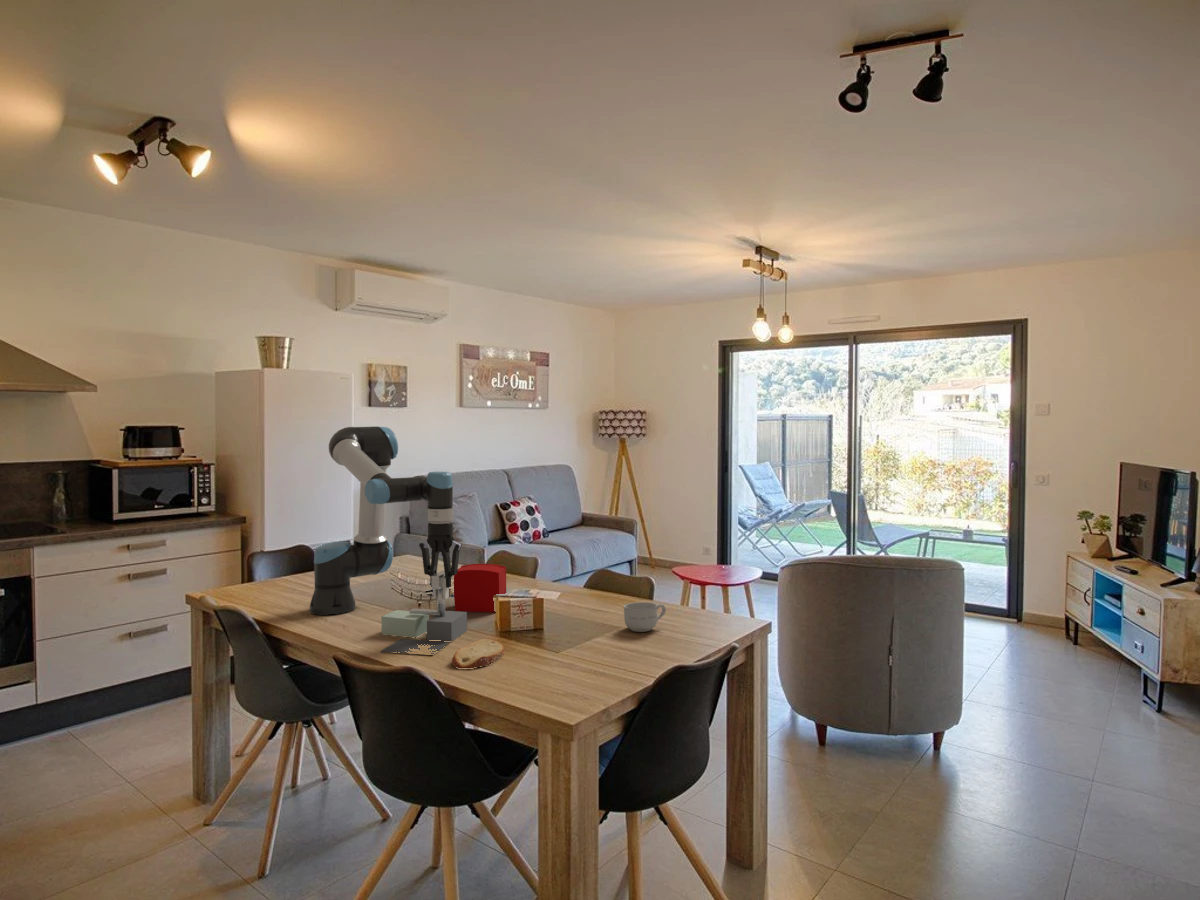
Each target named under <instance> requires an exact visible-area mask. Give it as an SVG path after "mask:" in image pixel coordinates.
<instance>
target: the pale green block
mask: <svg viewBox="0 0 1200 900" xmlns="http://www.w3.org/2000/svg"><path fill="white" fill-rule="evenodd" d="M409 611H410V610H401V609H395V610H393V611H391V612H389V613H386V614H383V615H382V616H381V635H382V634H385V635H384V636H388V635H395V636H394V637H397V636H405V637H404V638H406V636H407V637H417V636H419V635H421V634H423V633H425V632H427V620H429V619H430V615H423V614H409ZM425 634H426V633H425ZM423 635H424V634H423ZM421 636H422V635H421ZM419 637H420V636H419ZM417 638H418V637H417Z"/></svg>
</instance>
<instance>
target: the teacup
mask: <svg viewBox="0 0 1200 900" xmlns="http://www.w3.org/2000/svg"><path fill="white" fill-rule="evenodd" d="M659 608H661V609H662V610H661V612H660V613H659V615H658V609H659ZM666 610H667V609H666V607H665V605H664V604H662V603H657V604H656V603H654V602H648V601H647V602H645V601H643V602H642V601H636V602H630V603H626V604H624V605H623V615H624V616H623V617H624V624H625V626H626V627H627V628H628V629H629V630H630V631H632V632H636V633H637V632H638V633H643V632H650V631H652V630H653V629H654V628H655V626H657V624H658V621H659V620H661V619H662V618H663V616H664V615H665V614H666Z"/></svg>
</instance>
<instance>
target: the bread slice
mask: <svg viewBox="0 0 1200 900" xmlns="http://www.w3.org/2000/svg"><path fill="white" fill-rule="evenodd" d="M504 654H505V648H504V645H503V644H502V643H501V642H499V641H497V640H493V639H489V638H488V639H487V638H482V639H479V640H475V641H473V642H471V643H469V644H466V645H465V646H463V647H461V648H459V649H458V650H457V651H455V652H454V655H453V657H452V659H451V664H452V666H453V667H454V666H455V667H458V668H474V667H480V666H486V665H489V664H491V663H494V662H496V661H497V660H499V659H500V658H501V657H503V656H504ZM502 655H503V656H502ZM501 659H502V658H501ZM501 659H500V660H501ZM500 660H499V661H500ZM497 662H498V661H497ZM497 662H496V663H497ZM494 664H495V663H494ZM489 666H490V665H489ZM455 667H454V668H455ZM486 667H487V666H486Z"/></svg>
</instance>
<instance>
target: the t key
mask: <svg viewBox="0 0 1200 900" xmlns="http://www.w3.org/2000/svg"><path fill="white" fill-rule="evenodd" d="M444 576H445V571H444V570H440V571H439V572H438V571H437V573H436V574H434V575H432V576H431V585H432V589H437V598H436V609H430V608H429V609H428V608H427V609H426V608H415V607H414V608H411V609H410V610H408V611H409V614H423V615H429V616H435V615H437V616H444V615H445V611H446V599H443V577H444Z"/></svg>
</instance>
